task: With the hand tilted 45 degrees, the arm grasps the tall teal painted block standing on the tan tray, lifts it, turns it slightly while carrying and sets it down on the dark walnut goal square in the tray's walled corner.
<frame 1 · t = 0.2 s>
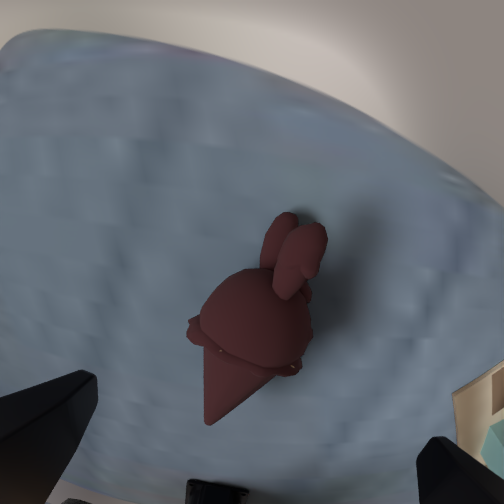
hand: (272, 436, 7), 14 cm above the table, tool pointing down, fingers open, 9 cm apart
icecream: (255, 311, 22), on the table
block: (501, 431, 23), resting on tan tray
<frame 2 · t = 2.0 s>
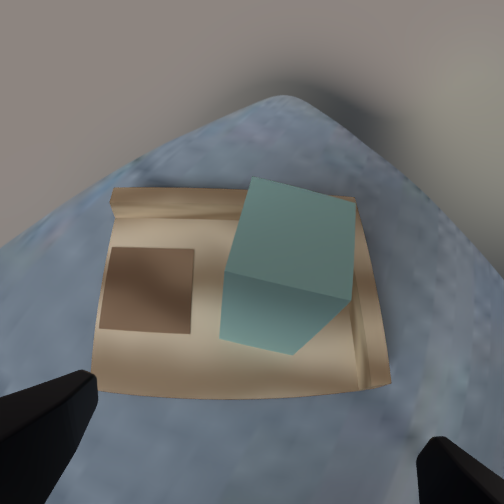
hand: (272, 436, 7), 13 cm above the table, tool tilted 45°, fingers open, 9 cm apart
tan tray: (148, 290, 22), on the table
block: (263, 313, 22), resting on tan tray
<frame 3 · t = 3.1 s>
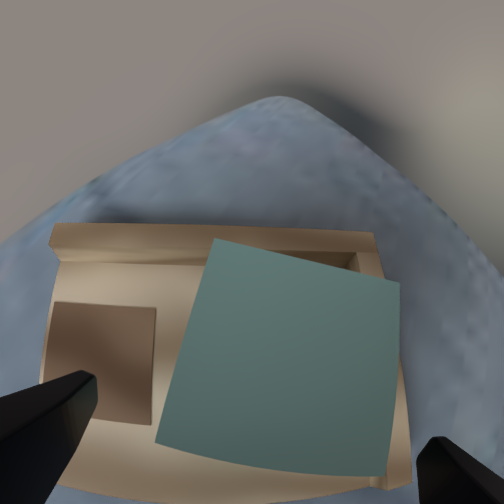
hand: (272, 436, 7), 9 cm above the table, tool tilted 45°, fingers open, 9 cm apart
tan tray: (98, 362, 15), on the table
block: (248, 398, 15), resting on tan tray
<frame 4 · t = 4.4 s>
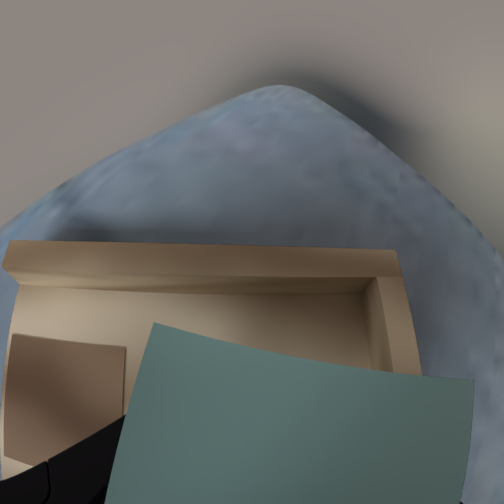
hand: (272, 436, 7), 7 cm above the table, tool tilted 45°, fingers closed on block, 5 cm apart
tan tray: (62, 409, 12), on the table
block: (240, 460, 11), resting on tan tray, touching gripper
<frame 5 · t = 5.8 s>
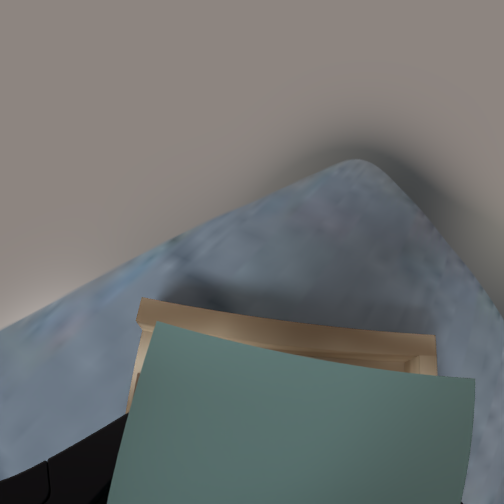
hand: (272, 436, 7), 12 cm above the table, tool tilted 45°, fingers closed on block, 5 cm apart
tan tray: (181, 433, 17), on the table
block: (240, 459, 11), point 6 cm above the table, touching gripper
when the fingers open (7 cm above the table, at t = 7.4 s): block stays where it is, resting on tan tray.
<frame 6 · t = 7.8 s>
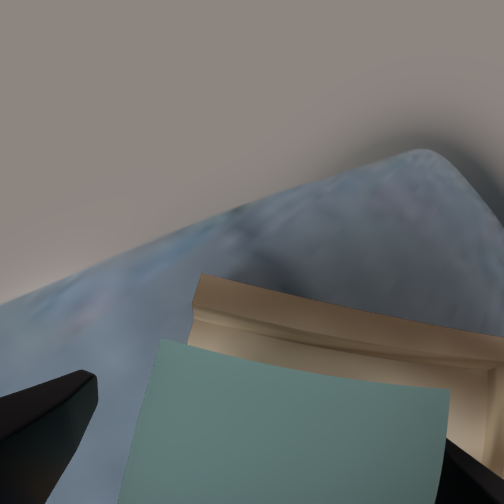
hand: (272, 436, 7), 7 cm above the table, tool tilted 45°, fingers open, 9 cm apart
tan tray: (237, 457, 12), on the table
block: (238, 459, 12), point 1 cm above the table, touching tan tray
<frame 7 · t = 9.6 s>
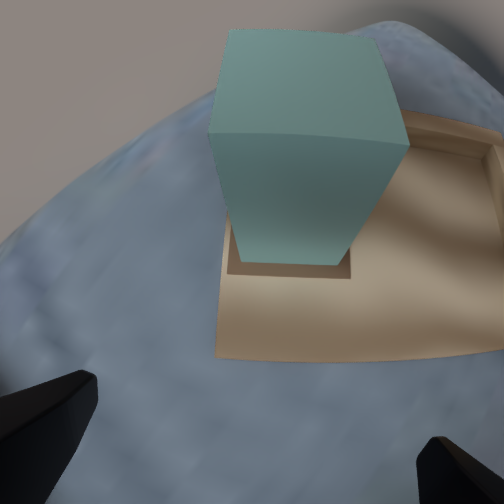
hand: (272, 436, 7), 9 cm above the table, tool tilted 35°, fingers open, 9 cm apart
tan tray: (290, 223, 18), on the table
block: (290, 219, 17), point 1 cm above the table, touching tan tray
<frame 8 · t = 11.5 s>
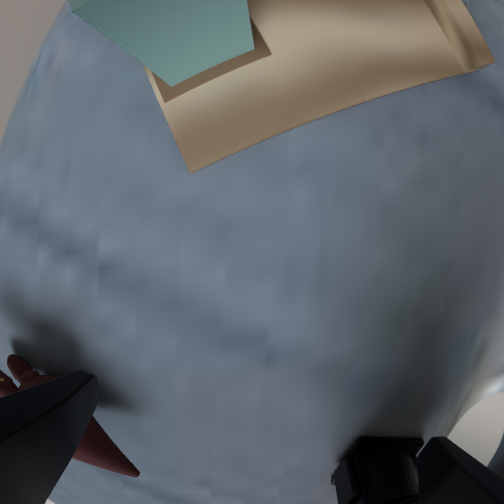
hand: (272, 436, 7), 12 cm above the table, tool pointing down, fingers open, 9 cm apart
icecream: (77, 395, 22), on the table
tan tray: (197, 37, 15), on the table
block: (195, 33, 15), point 1 cm above the table, touching tan tray
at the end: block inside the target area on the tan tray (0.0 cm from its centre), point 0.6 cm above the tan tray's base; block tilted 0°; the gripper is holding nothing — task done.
